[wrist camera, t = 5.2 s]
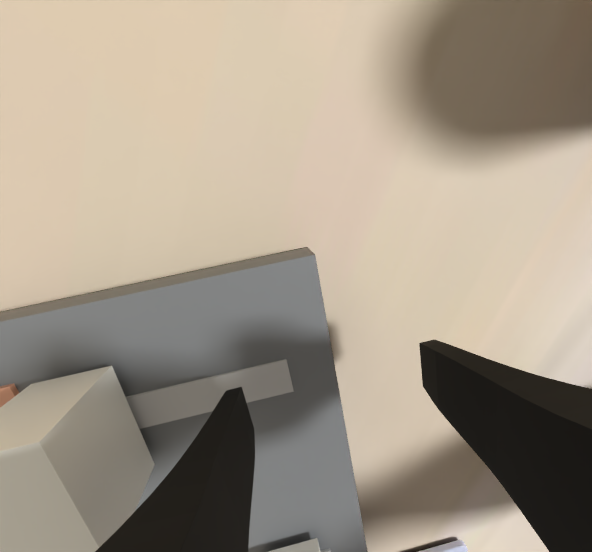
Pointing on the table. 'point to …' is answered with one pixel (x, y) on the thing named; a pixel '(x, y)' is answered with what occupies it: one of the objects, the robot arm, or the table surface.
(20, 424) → the switch
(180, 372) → the switch panel
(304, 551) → the switch
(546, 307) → the table surface
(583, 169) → the table surface
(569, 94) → the table surface
